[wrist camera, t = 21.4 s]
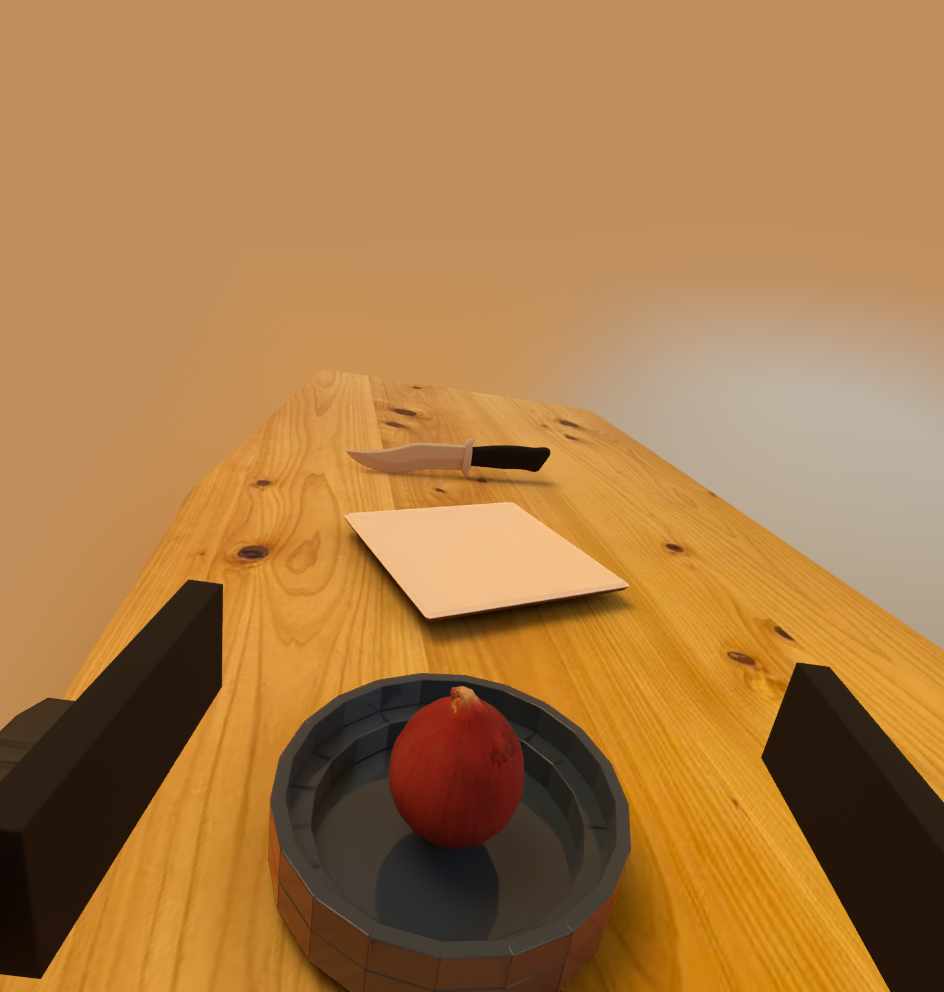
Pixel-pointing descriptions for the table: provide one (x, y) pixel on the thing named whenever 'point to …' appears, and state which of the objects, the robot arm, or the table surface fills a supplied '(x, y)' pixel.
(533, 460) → the knife
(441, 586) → the plate
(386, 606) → the table surface
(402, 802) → the onion
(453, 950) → the bowl
